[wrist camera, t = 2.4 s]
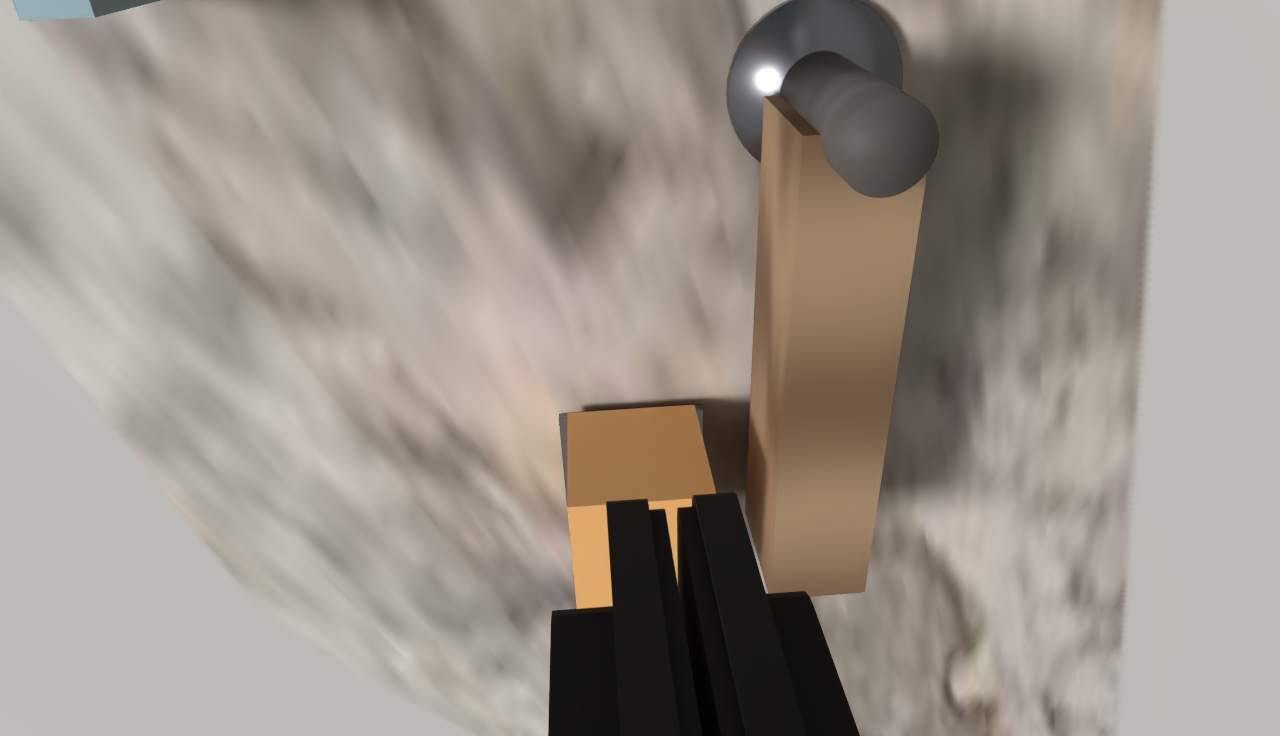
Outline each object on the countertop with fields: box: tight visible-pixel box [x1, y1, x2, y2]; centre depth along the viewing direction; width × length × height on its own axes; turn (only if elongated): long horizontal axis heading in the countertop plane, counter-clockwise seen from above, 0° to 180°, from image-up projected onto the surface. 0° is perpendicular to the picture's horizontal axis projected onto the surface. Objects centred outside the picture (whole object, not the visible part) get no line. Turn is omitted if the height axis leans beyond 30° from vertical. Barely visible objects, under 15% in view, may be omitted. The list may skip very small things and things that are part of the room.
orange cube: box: [567, 405, 716, 609], centre depth 22 cm, size 4×4×4 cm
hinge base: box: [726, 0, 903, 163], centre depth 19 cm, size 4×4×1 cm
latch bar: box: [745, 51, 939, 597], centre depth 19 cm, size 13×2×5 cm, turn 2°
